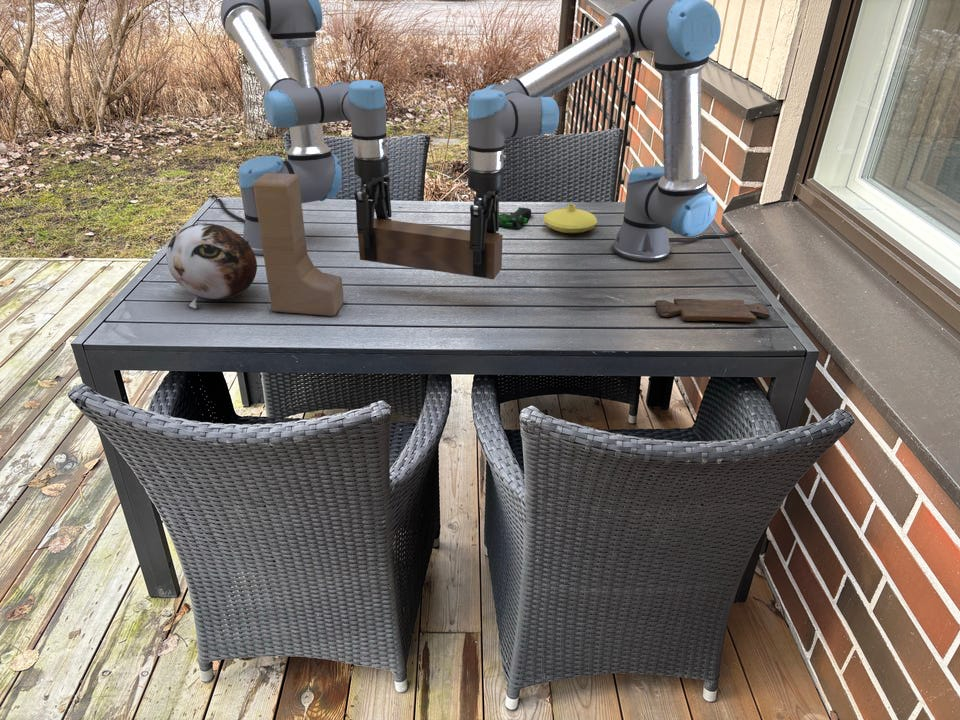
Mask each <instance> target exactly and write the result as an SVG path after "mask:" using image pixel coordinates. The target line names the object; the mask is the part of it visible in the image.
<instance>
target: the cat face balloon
mask: <svg viewBox="0 0 960 720" xmlns="http://www.w3.org/2000/svg"><path fill="white" fill-rule="evenodd" d="M248 242H249V241H246V240H245V239H244V238H243V236H242V235H240V234H239V233H238V232H236V231H234V230H233V229H231V228H229V227H226V226H223V225H220V224H215V223H205V222H204V223H195V224H191V225H188V226H186V227H183V228H182V229H180V230H179V231H177V232H176V233H175V234H174V235H173V237H171V239H170V241H169V243H168V245H167V248H166V254H165V260H166V265H167V268H168V271H169V273H170V275H171V276H172V277H173V279H174V280H175V281H176V282H177V284H178V285H180V286H181V287H182V288H183V289H185V290H186V291H187V292H189V293H191V294H194V295H195V298H194V299H193V300H192V302H190V303H189V304H188V306H189V307H191V308H192V309H197V308H198V307H197V298H198V297H201V298H205V299H210V300H226V299H230V298H233V297H236V296H238V295H241V294H242V293H244V292H245V291H247V290H248V289H249V288H250V286H251V285H252V284H253V282H254V280H255V278H256V275H257V271H258V262H257V257H256V254H254V252H253V250H252V248H251V247H250V245H249V244H248Z"/></svg>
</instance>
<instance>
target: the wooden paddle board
mask: <svg viewBox="0 0 960 720" xmlns="http://www.w3.org/2000/svg"><path fill="white" fill-rule="evenodd" d="M654 304H655V308H656V312H657V314H658V316H659V317H661V318H669V317H674V316H678V315H680V316H681V319H682V321H685V322H699V321H715V322H716V321H721V322H741V323H754V322H756V321H757V319H758V318H763V319H769V318H770V315H771V314H770V311H769V309H768V307H767V305H766V303H764V302H756V303H753V304H747V305H746V304H745V300H744V299H700V298H673V302H671V301H668V300H666V299H657V300H655V301H654ZM757 317H758V318H757Z"/></svg>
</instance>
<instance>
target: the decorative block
mask: <svg viewBox="0 0 960 720" xmlns="http://www.w3.org/2000/svg"><path fill="white" fill-rule="evenodd" d="M253 188H254V195H255V201H256V208H257V215H258V221H259V228H260V235H261V241H262V248H263V254H264V255H263V260H264V266H265V273H266V280H267V288H268V293H269V300H270V301H269V302H270V307H271V310H272V312H275V313H276V312H277V313H290V314H303V315H305V314H306V315H315V316H329V317H333V316H336V314H338V312H339V310H340V309H341V307H342V306H343V305H344V302H345V301H344V287H343V286H344V285H343V278H342V276H339V275H335V274H332V273H327V272H323V271H321V270H320V269H318V268H317V267H316V266H315V265H314V264H313V261H312V260H311V258H310V255H309V254H308V249H307V247H308V246H307V239H306V231H305V230H306V229H305V222H304V214H303V203H301V195H300V187H299V178H298V175H296V174H282V173H265V174H264V175H263V176H261V177H260V178H258V179H257V180H256V181H254V182H253Z"/></svg>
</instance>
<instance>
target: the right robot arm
mask: <svg viewBox="0 0 960 720" xmlns="http://www.w3.org/2000/svg"><path fill="white" fill-rule="evenodd" d="M721 31H722V23H721V19H720V15H719V13H718V11H717V9H716V8H715V6H713V5H712V3H711V2H709V1H707V0H635V1H633V2H631V3H629V4H628V5H625V6H624V7H622V8H620V9H618V10H617V11H615V12H613V13H612V14H610V15H609V16H607V17H606V18H605V19H604V21H603V25H601V26H599V27H598V28H596V29H594V30H592V31H591V32H589V33H588V34H586V35H584V36H583V37H581V38H578V40H576V41H574V42H572V43H571V44H569V45H568V46H565V47H564V48H563V49H561V50H559V51H558V52H556V53H554V54H552V55H551V56H549V57H547V58H545V59H544V60H543V61H541V62H540V63H537V64H536V65H534V66H532V67H531V68H529V69H528V70H526V71H524V72H522V73H521V74H519V75H518V76H516V77H514V78H512V79H510V80H509V81H507V82H505V83H504V84H500V83H499V84H490V85H488V86H486V87H485V88H484V89H477V90H474V91H472V92H471V93H470V94H469V96H468V103H467V134H468V136H467V140H468V141H467V146H468V147H467V167H468V168H469V169H468V170H467V187H468V188H469V189H471V190H473V191H474V192H475V195H474V197H473V204H470V206H469V216H470V223H469V224H470V225H469V230H470V246H469V249H470V250H473V276H477V277H476V278H480V277H483V278H482V279H486V278H485V277H486V249H485V239H486V233H494V234H500V232H499V230H500V226H499V214H500V210H499V209H500V204H499V203H500V192H501V191H500V190H501V189H502V188H503V187H504V169H503V168H504V163H505V162H504V161H505V160H506V159H507V155H506V153H504V152H505V140H506V139H514V138H526V137H527V138H528V137H536V136H537V137H541V136H544V135H549V134H553V133H554V132H555V131H556V129H557V128H558V126H559V123H560V109H559V106H558V103H557V101H556V100H555V99H554V98H553V96H554V95H556V94H558V93H559V92H561V91H563V90H564V89H567V88H568V87H570V86H571V85H572V84H573V85H574V84H575V83H576V82H577V81H579V80H581V79H583V78H585V77H586V76H588V75H590V74H591V73H593V72H594V71H596V70H598V69H599V68H602V67H603V66H605V65H606V64H608V63H610V62H611V61H613V60H616V58H621V59H624V58H627V57H628V56H630V55H631V54H635V53H638V52H644V51H645V52H646V51H649V52H652V53H653V67H654V69H655V71H657V73H659V74H660V75H661V102H662V103H661V105H662V107H661V108H662V110H661V111H662V145H663V149H662V150H663V165H662V166H661V165H648V166H646V165H645V166H640V167H639V166H638V167H635V168H633V169H631V170H630V172H629V174H628V179H627V182H626V195H625V202H624V211H623V219H622V220H623V221H622V224H621V226H620V228H619V230H618V232H617V235H616V237H615V239H614V240H613V247H612V251H613V252H614V253H615V254H616V255H618V256H620V257H621V258H623V259H627V260H631V261H635V262H645V263H646V262H647V263H648V262H649V263H650V262H651V263H652V262H659V261H663V260H665V259H667V258H668V257H669V256H670V252H671V244H670V243H692V242H694V241H696V240H699V239H702V238H703V239H704V238H728V237H731V236H733V235H735V234H736V233H735V232H734V230H735V229H732V230H731V231H730V232H726V233H725V232H724V234H725V235H703V234H704V233H703V232H705V231H706V229H708V227H709V226H710V224H712V222H713V220H714V219H715V216H716V215H717V211H718V202H717V199H716V198H715V196H714V195H713V194H712V193H709V192H708V176H707V175H706V174H705V173H703V172H702V71H703V69H704V68H705V67H706V66H707V65H708V64H709V62H710V56H711V54H713V52H714V51H715V50H716V45H717V44H718V43H719V41H720V37H721ZM668 231H671V233H673V234H675V235H679V236H681V237H685V238H669V233H668ZM701 233H702V235H703V236H699V237H696V238H693V237H695V236H698V235H701ZM473 276H472V277H473Z"/></svg>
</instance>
